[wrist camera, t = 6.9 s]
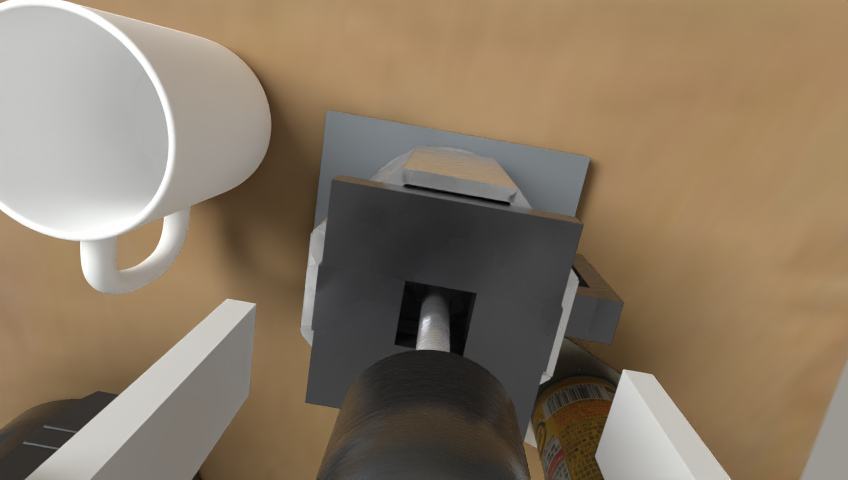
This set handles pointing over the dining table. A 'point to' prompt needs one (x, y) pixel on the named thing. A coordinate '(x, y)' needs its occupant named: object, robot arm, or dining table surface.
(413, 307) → the plunger
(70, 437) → the robot arm
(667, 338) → the dining table surface
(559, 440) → the condiment
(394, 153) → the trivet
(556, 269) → the carafe
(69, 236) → the cup
